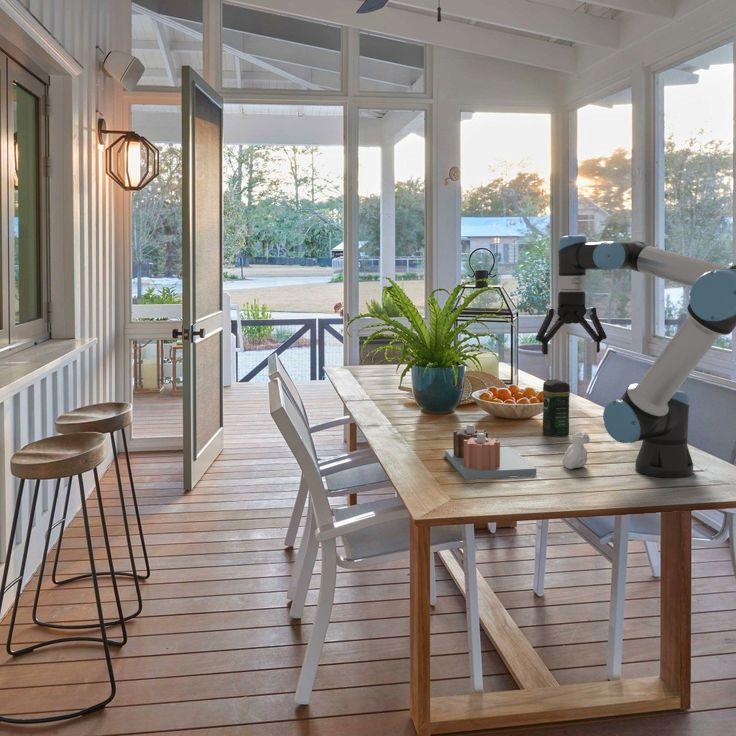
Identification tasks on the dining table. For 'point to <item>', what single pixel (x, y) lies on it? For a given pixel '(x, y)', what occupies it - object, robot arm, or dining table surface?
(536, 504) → the dining table surface
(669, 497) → the dining table surface
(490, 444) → the brick-red gear
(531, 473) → the slate gear board
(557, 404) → the coffee jar
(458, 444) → the walnut gear
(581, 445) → the white rounded figure
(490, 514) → the dining table surface
